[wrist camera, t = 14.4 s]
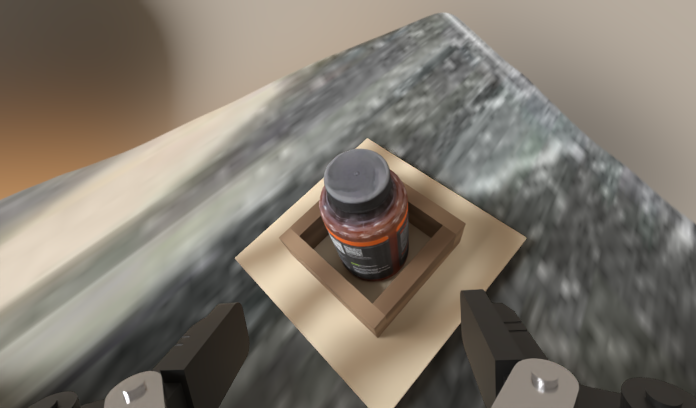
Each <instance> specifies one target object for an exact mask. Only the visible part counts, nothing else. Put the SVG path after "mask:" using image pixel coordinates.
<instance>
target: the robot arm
mask: <svg viewBox="0 0 696 408" xmlns="http://www.w3.org/2000/svg"><path fill="white" fill-rule="evenodd" d="M460 310H461V332H462V340H463V345H464V348H465V351H466V354H467V357H468V360H469V362H470V365H471V368H472V371H473V373H474V376H475V379H476V382H477V384H478V387H479V390H480V393H481V395H482V398H483V401H484V404H485V406H486V408H696V398H695V397H693V396H692V395H691V394H689V393H688V392H686V391H684V390H682V389H680V388H678V387H676V386H674V385H672V384H669V383H666V382H663V381H660V380H656V379H651V378H642V377H639V378H631V379H628V380H626V381H625V382H624V383H623V384H622V388H621V393H616V392H611V391H606V390H601V389H596V388H591V387H587V386H584V385H581V384H578V382H577V380H576V378H575V377H574V376H573V374H572V373H571V372H569V371H568V370H567V369H565V368H564V367H562V366H560V365H558V364H556V363H554V362H551V361H549V360H548V359H547V358H546V356H545V355H544V353H543V352H542V350H541V349H540V347H539V346H538V345H537V343H536V342H535V340H534V339H533V337H532V336H531V334H530V333H529V332H528V331H527V329H526V327H525V326H524V324H523V323H521V320H520V319H519V317H518V316H517V314H516V313H515V311H513V310H512V309H510V308H509V307H507V306H506V305H504V304H503V303H491V301H490V299H489V298H488V296H487V294H486V293H485V291H484V290H483V289H476V290H461V291H460ZM248 352H249V336H248V331H247V327H246V322H245V317H244V312H243V308H242V305H241V304H240V303H222V304H218V305H217V306H216V307H215V308H214V309H213V310H212V311H211V313H210V314H209V315H208V316H207V317H206V318H203V319H202V320H201V321H199V322H198V323H196V324H195V325H193V326H192V327H191V328H190V329H189V330H188V331H187V332H186V333H185V334H184V335H183V338H181V339H180V340H179V341H178V342H177V343H176V346H173V348H172V349H171V350H170V351H169V352H168V353H167V354H166V355H165V356H164V357H163V359H162V360H161V361H160V362H159V363H158V364H157V365H156V366H155V367H154V368H153V370H152V371H146V372H142V373H138V374H136V375H133V376H131V377H129V378H127V379H125V380H124V381H122V382H120V383H119V384H118V385H116V386H115V387H114V388H113V389H112V390H111V391H110V392H109V394H108V395H107V397H106V399H103V400H99V401H96V402H92V403H88V404H84V405H80V402H79V399H78V396H77V394H76V393H75V392H72V391H65V392H60V393H56V394H53V395H50V396H48V397H46V398H44V399H41V400H40V401H38V402H36V403H34V404H33V405H31V406H30V407H28V408H218V407H219V406H220V404H221V402H222V400H223V398H224V397H225V395H226V393H227V391H228V390H229V388H230V386H231V384H232V382H233V381H234V379H235V377H236V375H237V373H238V372H239V370H240V368H241V366H242V365H243V363H244V361H245V359H246V357H247V355H248Z"/></svg>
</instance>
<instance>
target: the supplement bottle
mask: <svg viewBox="0 0 696 408" xmlns="http://www.w3.org/2000/svg"><path fill="white" fill-rule="evenodd" d="M319 210H320V214H321V217H322V220H323V222H324V224H325V226H326V229H327V231H328V233H329V235H330V237H331V239H332V241H333V243H334V246H335V248H336V250H337V252H338V254H339V257H340V259H341V261H342V262H343V264H344V266H345V267H346V269H347V270H348V271H349V272H350V273H351V274H352V275H353V276H355V277H357V278H359V279H362V280H365V281H382V280H385V279H388V278H390V277H392V276H393V275H395V274H396V273H397V272H398V271H399V270H400V269H401V268H402V267H403V266H404V264H405V262H406V259H407V257H408V251H409V225H408V197H407V192H406V189H405V186H404V184H403V182H402V181H401V179H400V178H399V177H398V176H397V175H396V174H395V173H394V172H393V171H392V170H390V168H389V166H388V163H387V162H386V160H385V159H384V158H383V157H382V156H381V155H379V154H378V153H377V152H374V151H372V150H368V149H352V150H348V151H345V152H343V153H341V154H339V155H338V156H336V157H335V158H334V159H333V160H332V161H331V162H330V163H329V164H328V166H327V168H326V170H325V173H324V187H323V188H322V191H321V195H320V200H319Z"/></svg>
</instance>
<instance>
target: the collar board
mask: <svg viewBox="0 0 696 408" xmlns="http://www.w3.org/2000/svg"><path fill="white" fill-rule="evenodd" d="M356 149H368V150H372V151H374V152H377V153H378V154H379V155H381V156H382V157H383V158H384V159H385V160H386V162H387V163H388V166H389V168H390V170H392V171H393V172H394V173H395V174H396V175H397V176H398V177H399V178H400V179H401V181H402V182H403V184H404V186H405V189H406V192H407V197H408V225H409V251H408V257H407V259H406V262H405V264H404V266H403V267H402V268H401V269H400V270H399V271H398V272H397V273H396V274H395V275H393V276H392V277H390V278H388V279H385V280H382V281H365V280H362V279H359V278H357V277H355V276H353V275H352V274H351V273H350V272H349V271H348V270H347V269H346V267H345V266H344V264H343V262H342V261H341V259H340V257H339V254H338V252H337V250H336V248H335V246H334V243H333V241H332V239H331V237H330V235H329V233H328V231H327V229H326V226H325V224H324V222H323V220H322V217H321V214H320V210H319V200H320V195H321V191H322V188H323V187H324V178H323V179H322V180H321V181H320V182H318V183H317V184H316V185H315V186H314V187H313V188H312V189H311V190H310V191H308V192H307V193H306V194H305V195H304V196H303V197H302V198H301V199H300V200H299V201H297V202H296V203H295V204H294V205H293V206H292V207H291V208H290V209H289V210H287V211H286V212H285V213H284V214H283V215H282V216H281V217H280V218H279V219H277V220H276V221H275V222H274V223H273V224H272V225H271V226H270V227H269V228H268V229H266V230H265V231H264V232H263V233H262V234H261V235H260V236H259V237H258V238H256V239H255V240H254V241H253V242H252V243H251V244H250V245H249V246H248V247H247V248H245V249H244V250H243V251H242V252H241V253H240V254H239V255H238V256H237V257H235V259H236V260H237V261H238V263H239V264H240V265H241V266H242V267H243V268H244V269H245V270H246V271H247V273H248V274H249V275H250V276H251V277H252V278H253V279H254V280H255V281H256V283H257V284H258V285H259V286H260V287H261V288H262V289H263V290H264V292H265V293H266V294H267V295H268V296H269V297H270V298H271V299H272V300H273V302H274V303H275V304H276V305H277V306H278V307H279V308H280V309H281V311H282V312H283V313H284V314H285V315H286V316H287V317H288V318H289V319H290V321H291V322H292V323H293V324H294V325H295V326H296V327H297V328H298V329H299V331H300V332H301V333H302V334H303V335H304V336H305V337H306V338H307V340H308V341H309V342H310V343H311V344H312V345H313V346H314V347H315V348H316V350H317V351H318V352H319V353H320V354H321V355H322V356H323V357H324V359H325V360H326V361H327V362H328V363H329V364H330V365H331V366H332V367H333V369H334V370H335V371H336V372H337V373H338V374H339V375H340V376H341V377H342V379H343V380H344V381H345V382H346V383H347V384H348V385H349V386H350V388H351V389H352V390H353V391H354V392H355V393H356V394H357V395H358V396H359V398H360V399H361V400H362V401H363V402H364V403H365V404H366V405H367V406H368V408H395V406H396V405H397V404H398V402H399V401H400V400H401V399H402V397H403V396H404V395H405V394H406V392H407V391H408V390H409V388H410V387H411V386H412V385H413V383H414V382H415V381H416V379H417V378H418V377H419V376H420V374H421V373H422V372H423V371H424V369H425V368H426V367H427V365H428V364H429V363H430V362H431V360H432V359H433V358H434V357H435V355H436V354H437V353H438V351H439V350H440V349H441V348H442V346H443V345H444V344H445V343H446V341H447V340H448V339H449V337H450V336H451V335H452V334H453V332H454V331H455V330H456V328H457V327H458V326H459V325H460V323H461V310H460V291H461V290H476V289H483V290H484V291H485V292H486V290H487V289H488V288H489V286H490V285H491V284H492V283H493V281H494V280H495V279H496V278H497V276H498V275H499V274H500V272H501V271H502V270H503V269H504V267H505V266H506V265H507V263H508V262H509V261H510V260H511V258H512V257H513V256H514V255H515V253H516V252H517V251H518V249H519V248H520V247H521V246H522V244H523V243H524V241H525V240H526V239H527V238H526V237H525V236H523V235H521V234H520V233H518V232H517V231H515V230H513V229H512V228H510V227H509V226H507V225H505V224H504V223H502V222H501V221H499V220H497V219H496V218H494V217H493V216H491V215H489V214H488V213H486V212H485V211H483V210H481V209H480V208H478V207H477V206H475V205H473V204H472V203H470V202H469V201H467V200H465V199H464V198H462V197H461V196H459V195H457V194H456V193H454V192H453V191H451V190H449V189H448V188H446V187H445V186H443V185H441V184H440V183H438V182H437V181H435V180H433V179H432V178H430V177H428V176H427V175H425V174H424V173H422V172H420V171H419V170H417V169H416V168H414V167H412V166H411V165H409V164H408V163H406V162H404V161H403V160H401V159H400V158H398V157H396V156H395V155H393V154H392V153H390V152H388V151H387V150H385V149H384V148H382V147H380V146H379V145H377V144H376V143H374V142H372V141H371V140H369V139H368V138H367V139H366V140H365V141H364V142H363V143H362V144H360V145H359V146H358V147H357V148H356Z"/></svg>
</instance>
